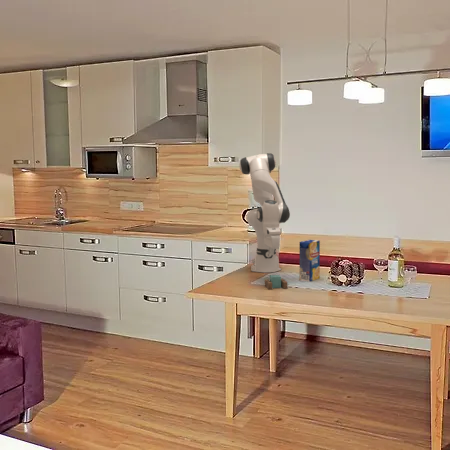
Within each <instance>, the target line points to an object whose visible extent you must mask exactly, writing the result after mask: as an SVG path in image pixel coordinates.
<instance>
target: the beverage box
mask: <svg viewBox="0 0 450 450" xmlns="http://www.w3.org/2000/svg"><path fill="white" fill-rule="evenodd" d="M320 243H321V240H315V239H307V240H303V241H299V281H302V282H303V281H304V282H312V281H316V280H319V279H320V278H321V277H320V276H321V275H320V274H321V273H320V271H321V269H320V265H321V263H320V261H321V260H320V258H321V257H320V256H321V253H320V251H321V250H320V249H321V248H320V245H321V244H320Z"/></svg>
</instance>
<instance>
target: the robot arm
mask: <svg viewBox="0 0 450 450" xmlns="http://www.w3.org/2000/svg"><path fill="white" fill-rule="evenodd" d="M276 164H277V159H276V157H275V155H274V154H273V153H270V152H269V153H260V154H254V155H250V156H247V157H243V158H241V159H240V160H239V165H238V167H239V170H240V172H241V173H242V174H243V175H250V180H251V188H252V196H253V199H254V201H255V202H256V203H259V204H260V206H259V207H258V208H254V209H251V210H248V212H247V215H246V220H247V222H248V225H250V227H252V229H254V231H255V234H256V243H257V247H256V252H255V253H256V255H255V256H254V258H253V259H251V264H253V265H251V266H250V271H251V272H256V273H265V274H266V273H275V272H278V271H282V268H281V267H280V261H279V256H278V255H277V249H278V250H279V248H280V246H281V244H280V243H281V242H280V241H281V233H282V232H281V228H280V224H284V223H286V222H287V221H288V220H289V219H290V216H291V212H290V209H289V207H288V205H287V202H286V200H285V199H284V195H283V193H282V191H281V188H280V186H279V184H278V182H277V181H276V180H274V179H273V178H272V176H271V173H272V171H274V169H275V168H276Z"/></svg>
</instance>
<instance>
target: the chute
mask: <svg viewBox="0 0 450 450" xmlns="http://www.w3.org/2000/svg"><path fill="white" fill-rule="evenodd" d="M264 287H265V288H266V289H267V290H269V291H270V290H271V291H272V290H273V288H272V282H270V279H264ZM281 288H282V289H284V290H287V289H288V281H286V280H285V279H284V278H281Z"/></svg>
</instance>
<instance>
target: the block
mask: <svg viewBox="0 0 450 450" xmlns="http://www.w3.org/2000/svg"><path fill="white" fill-rule="evenodd" d="M281 279H282V276H281V275H280V274H272V275H271V274H270V275H269V281H270V282H272V289H279V288H280V289H281V288H282V287H281Z"/></svg>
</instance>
